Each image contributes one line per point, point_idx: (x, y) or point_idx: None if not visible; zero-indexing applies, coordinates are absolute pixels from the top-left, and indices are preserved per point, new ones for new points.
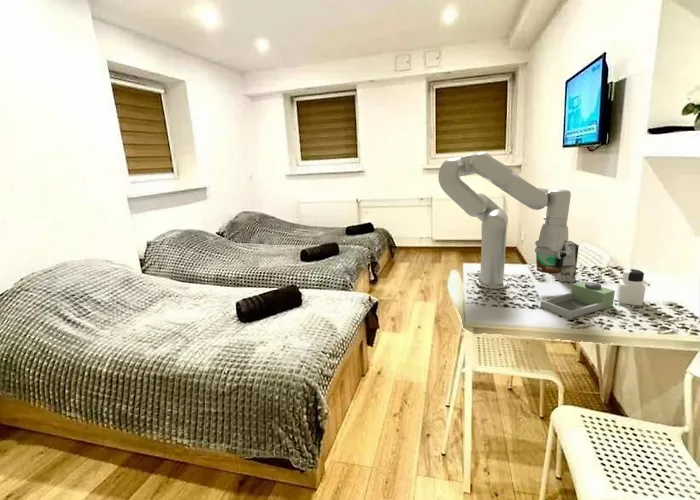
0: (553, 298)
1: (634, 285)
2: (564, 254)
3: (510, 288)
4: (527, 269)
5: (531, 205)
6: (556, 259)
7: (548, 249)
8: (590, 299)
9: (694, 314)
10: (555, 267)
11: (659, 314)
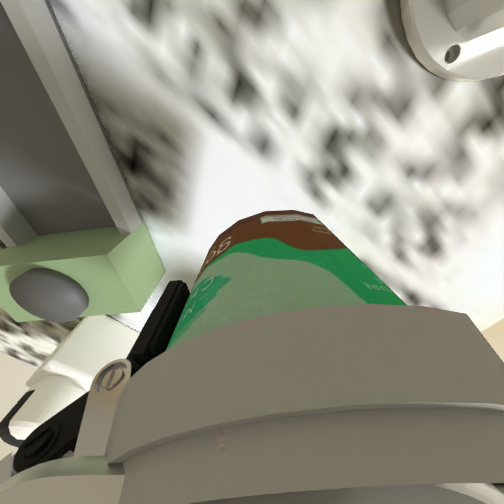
0: (45, 81)
1: (38, 379)
2: (23, 445)
3: (366, 38)
4: (454, 306)
5: None
6: (144, 342)
7: (148, 484)
8: (52, 241)
9: (28, 364)
10: (176, 281)
11: (16, 323)
